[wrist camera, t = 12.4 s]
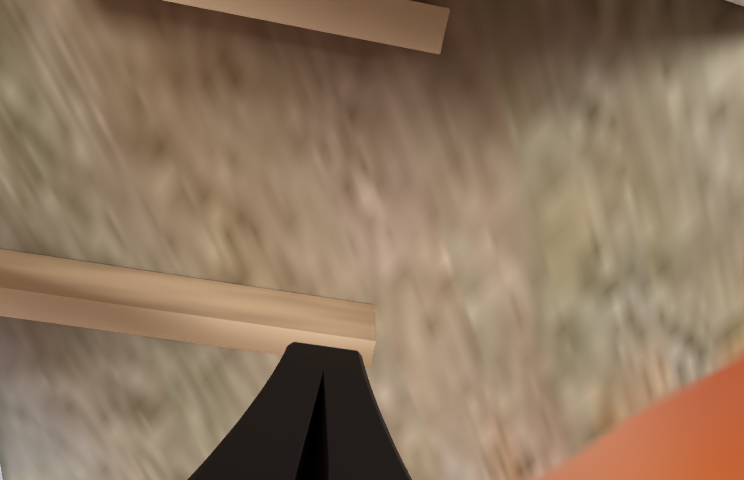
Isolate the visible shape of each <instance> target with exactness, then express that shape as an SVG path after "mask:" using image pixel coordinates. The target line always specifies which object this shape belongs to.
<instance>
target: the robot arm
mask: <svg viewBox="0 0 744 480" xmlns="http://www.w3.org/2000/svg"><path fill="white" fill-rule="evenodd" d="M0 480H3V478H2V472H1V466H0ZM188 480H412V479H411V477H410V475H409V473H408V471H407V469H406V467H405V465H404V463H403V461H402V459H401V457H400V455H399V453H398V451H397V449H396V447H395V445H394V442H393V440H392V438H391V436H390V433H389V431H388V429H387V426H386V424H385V422H384V420H383V417H382V415H381V412H380V410H379V407H378V405H377V402H376V400H375V397H374V394H373V391H372V389H371V386H370V383H369V380H368V377H367V373H366V370H365V366H364V362H363V358H362V356H361V354H360V353H359V352H358V351H356V350H349V349H342V348H335V347H328V346H321V345H314V344H307V343H300V342H293V343H291V344H289V345H288V346H287V347H286V350H285V352H284V354H283V356H282V358H281V360H280V362H279V364H278V365H277V367H276V369H275V370H274V372H273V374H272V375H271V377H270V378H269V380H268V381H267V383H266V384H265V386H264V387H263V389H262V390H261V391H260V393H259V394H258V396H257V397H256V398H255V400H254V401H253V402H252V404H251V405H250V406H249V408H248V409H247V411H246V412H245V413H244V415H243V416H242V417H241V418H240V420H239V421H238V422H237V424H236V425H235V426H234V427H233V428H232V430H231V431H230V432H229V433H228V434H227V435H226V437H225V438H224V439H223V440H222V441H221V443H220V444H219V445H218V446H217V447H216V449H215V450H214V451H213V452H212V453H211V454H210V456H209V457H208V458H207V459H206V460H205V461H204V462H203V464H202V465H201V466H200V467H199V468H198V469H197V470H196V471H195V472H194V473H193V474H192V475H191V477H190V478H189V479H188Z"/></svg>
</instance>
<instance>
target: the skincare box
mask: <svg viewBox="0 0 744 480" xmlns="http://www.w3.org/2000/svg"><path fill="white" fill-rule="evenodd" d="M726 1H729V2H732V3H735V4H738V5H741V6H744V0H726Z"/></svg>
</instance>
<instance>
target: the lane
mask: <svg viewBox="0 0 744 480" xmlns="http://www.w3.org/2000/svg"><path fill="white" fill-rule="evenodd" d="M164 1H169V2H174V3H179V4H184V5H189V6H194V7H199V8H204V9H210V10H215V11H220V12H225V13H230V14H235V15H240V16H245V17H250V18H256V19H261V20H266V21H271V22H276V23H281V24H286V25H291V26H296V27H302V28H307V29H312V30H317V31H322V32H327V33H332V34H337V35H342V36H348V37H353V38H358V39H363V40H368V41H373V42H378V43H383V44H388V45H394V46H399V47H404V48H409V49H414V50H419V51H424V52H429V53H434V54H440V52H441V48H442V43H443V39H444V34H445V30H446V25H447V21H448V16H449V12H450V8H445V7H440V6H435V5H430V4H425V3H420V2H415V1H410V0H164ZM0 316H4V317H11V318H19V319H26V320H33V321H40V322H47V323H55V324H62V325H69V326H76V327H83V328H91V329H98V330H105V331H112V332H119V333H127V334H134V335H141V336H148V337H155V338H163V339H170V340H177V341H184V342H191V343H199V344H206V345H213V346H220V347H227V348H235V349H242V350H249V351H256V352H263V353H271V354H278V355H283V354H284V352H285V350H286V347H287V346H288V345H289V344H291V343H293V342H300V343H307V344H314V345H321V346H328V347H335V348H342V349H349V350H356V351H358V352H359V353H360V354H361V356H362V358H363V362H364V366H365V367H370V365H371V361H372V356H373V352H374V348H375V343H376V329H375V305H371V304H365V303H358V302H351V301H345V300H338V299H331V298H325V297H318V296H311V295H305V294H298V293H291V292H285V291H278V290H271V289H265V288H258V287H251V286H245V285H238V284H231V283H225V282H218V281H211V280H205V279H198V278H191V277H185V276H178V275H171V274H164V273H158V272H151V271H144V270H138V269H131V268H124V267H118V266H111V265H104V264H98V263H91V262H84V261H78V260H71V259H64V258H58V257H51V256H44V255H38V254H31V253H24V252H18V251H11V250H4V249H0Z"/></svg>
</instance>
